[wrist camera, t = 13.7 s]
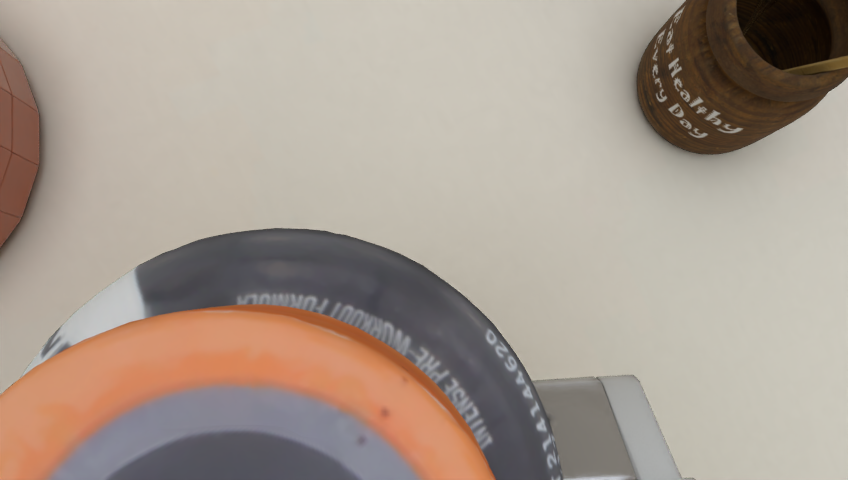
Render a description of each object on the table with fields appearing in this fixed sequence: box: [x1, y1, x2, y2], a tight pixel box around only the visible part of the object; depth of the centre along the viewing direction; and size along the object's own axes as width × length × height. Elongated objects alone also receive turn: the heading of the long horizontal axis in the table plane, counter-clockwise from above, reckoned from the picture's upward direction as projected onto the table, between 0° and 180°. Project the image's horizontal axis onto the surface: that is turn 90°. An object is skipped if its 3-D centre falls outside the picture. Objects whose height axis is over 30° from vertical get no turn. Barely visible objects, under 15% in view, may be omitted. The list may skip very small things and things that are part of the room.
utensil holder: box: [637, 0, 848, 154], centre depth 23 cm, size 6×6×12 cm
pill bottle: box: [0, 228, 563, 480], centre depth 10 cm, size 6×6×11 cm
